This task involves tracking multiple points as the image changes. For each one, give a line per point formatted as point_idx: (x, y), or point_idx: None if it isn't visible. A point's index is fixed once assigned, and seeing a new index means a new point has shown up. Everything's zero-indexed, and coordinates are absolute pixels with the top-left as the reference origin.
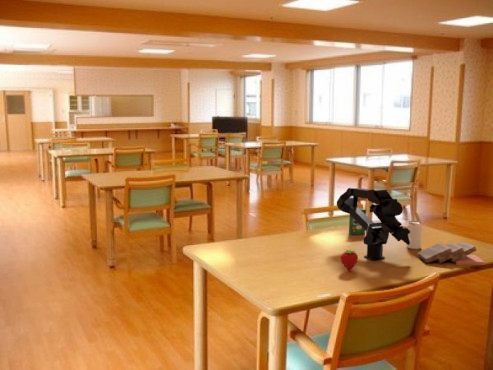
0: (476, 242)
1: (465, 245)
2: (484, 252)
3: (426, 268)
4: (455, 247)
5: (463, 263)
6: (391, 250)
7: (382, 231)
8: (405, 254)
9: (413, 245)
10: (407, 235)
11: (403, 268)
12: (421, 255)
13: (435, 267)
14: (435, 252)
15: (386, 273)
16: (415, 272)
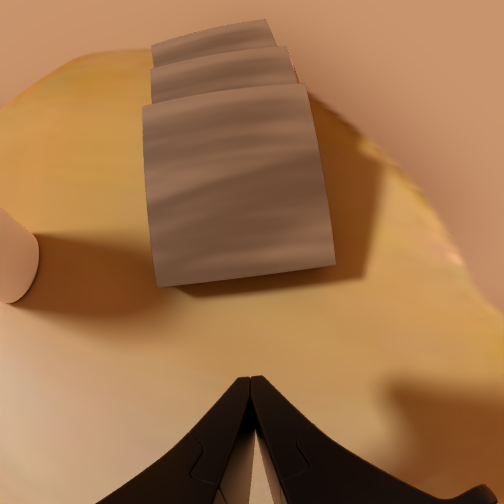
0: (51, 74)
1: (213, 39)
2: (140, 53)
3: (413, 289)
4: (247, 66)
5: None
6: (49, 417)
7: None
8: (118, 361)
9: (23, 270)
10: (330, 443)
11: (433, 424)
12: (239, 275)
13: (383, 235)
14: (286, 174)
15: (491, 487)
16: (480, 358)
